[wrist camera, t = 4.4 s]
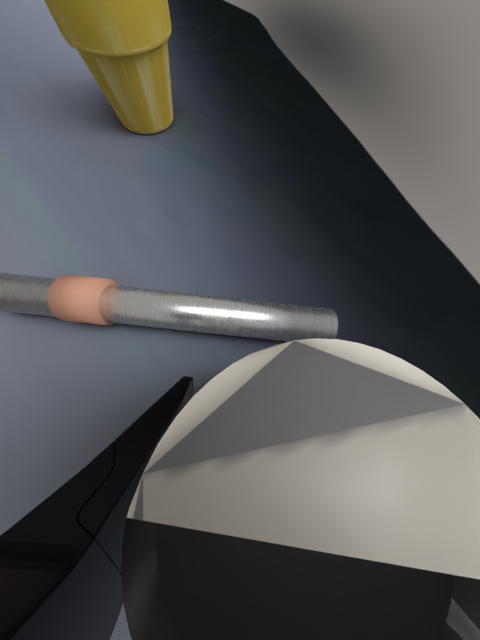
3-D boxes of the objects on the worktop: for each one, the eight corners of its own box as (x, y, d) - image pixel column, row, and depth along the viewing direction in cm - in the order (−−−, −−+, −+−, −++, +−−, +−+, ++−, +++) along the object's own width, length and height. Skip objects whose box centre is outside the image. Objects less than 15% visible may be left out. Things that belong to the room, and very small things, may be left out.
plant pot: (91, 111, 24) (3, -59, 15) (160, 88, 26) (123, -71, 17) (130, 156, 22) (57, -8, 13) (202, 127, 24) (185, -30, 15)
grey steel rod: (319, 351, 16) (344, 344, 12) (14, 319, 15) (-48, 302, 12) (318, 312, 17) (340, 296, 14) (33, 281, 16) (-19, 256, 13)
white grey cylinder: (277, 443, 14) (737, 1082, 1) (210, 437, 14) (-1, 1071, 1) (279, 373, 15) (498, 356, 3) (219, 367, 15) (169, 321, 3)
